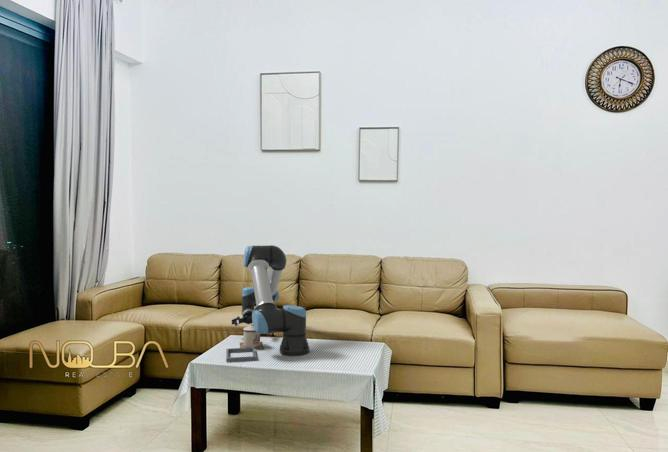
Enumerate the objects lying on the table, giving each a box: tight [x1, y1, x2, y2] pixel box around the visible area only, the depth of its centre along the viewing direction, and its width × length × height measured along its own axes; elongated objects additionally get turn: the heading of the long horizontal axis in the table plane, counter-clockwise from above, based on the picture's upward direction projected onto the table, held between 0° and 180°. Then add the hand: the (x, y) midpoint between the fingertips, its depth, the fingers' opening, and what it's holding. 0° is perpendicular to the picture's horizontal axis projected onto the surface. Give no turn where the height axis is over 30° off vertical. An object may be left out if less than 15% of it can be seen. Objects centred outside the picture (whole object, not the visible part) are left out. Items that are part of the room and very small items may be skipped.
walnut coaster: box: [239, 341, 264, 350], centre depth 265 cm, size 12×12×1 cm
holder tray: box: [225, 347, 257, 363], centre depth 247 cm, size 14×17×2 cm
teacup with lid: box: [243, 323, 261, 348], centre depth 265 cm, size 12×9×12 cm
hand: (250, 324), depth 275 cm, fingers open, 13 cm apart
